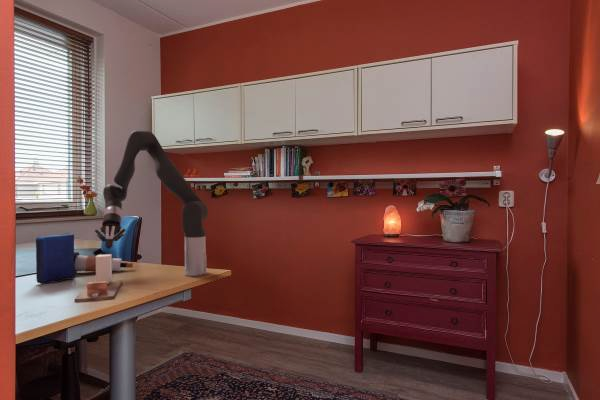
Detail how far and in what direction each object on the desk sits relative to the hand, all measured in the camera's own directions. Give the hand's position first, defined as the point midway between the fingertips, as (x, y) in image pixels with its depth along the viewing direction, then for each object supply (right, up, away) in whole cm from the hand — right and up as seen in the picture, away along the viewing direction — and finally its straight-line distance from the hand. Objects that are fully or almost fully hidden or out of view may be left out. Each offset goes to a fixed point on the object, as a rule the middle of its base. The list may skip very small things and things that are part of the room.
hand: (108, 247), depth 164 cm
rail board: (+8, -14, -22) cm, 27 cm away
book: (-19, -14, -5) cm, 24 cm away
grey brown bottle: (-14, -14, +14) cm, 24 cm away
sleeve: (+5, -12, -13) cm, 19 cm away
